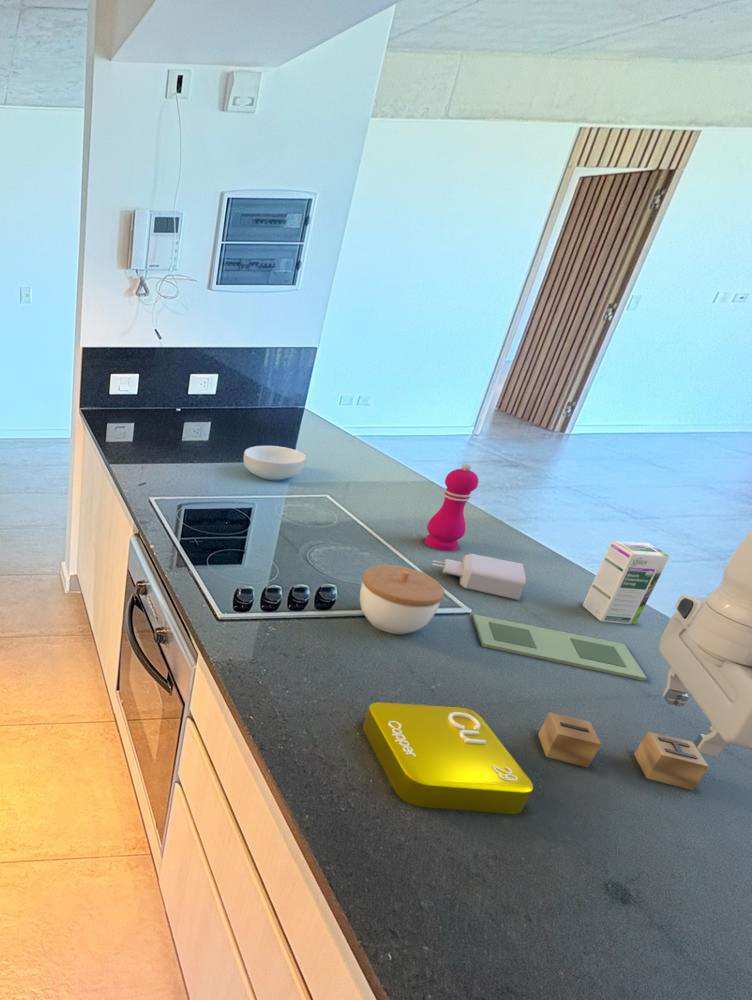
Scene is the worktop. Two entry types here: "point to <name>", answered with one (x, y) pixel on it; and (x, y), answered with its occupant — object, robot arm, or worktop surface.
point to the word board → (558, 646)
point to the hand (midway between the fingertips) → (687, 725)
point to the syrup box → (625, 581)
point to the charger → (487, 575)
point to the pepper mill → (452, 510)
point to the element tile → (445, 758)
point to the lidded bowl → (399, 598)
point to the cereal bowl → (274, 462)
